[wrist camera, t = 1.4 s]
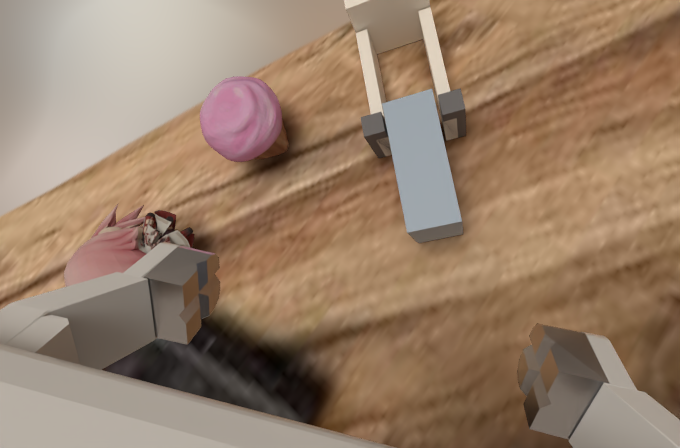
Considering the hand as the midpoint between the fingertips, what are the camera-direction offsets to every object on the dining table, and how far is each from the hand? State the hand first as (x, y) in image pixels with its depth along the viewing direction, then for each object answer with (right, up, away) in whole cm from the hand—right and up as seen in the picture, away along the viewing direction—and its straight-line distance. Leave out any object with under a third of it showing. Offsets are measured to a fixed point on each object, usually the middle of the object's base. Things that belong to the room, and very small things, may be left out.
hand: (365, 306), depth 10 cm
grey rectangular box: (+8, +6, +32) cm, 33 cm away
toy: (-23, -2, +41) cm, 47 cm away
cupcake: (-9, +12, +39) cm, 41 cm away
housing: (+7, +17, +34) cm, 39 cm away
